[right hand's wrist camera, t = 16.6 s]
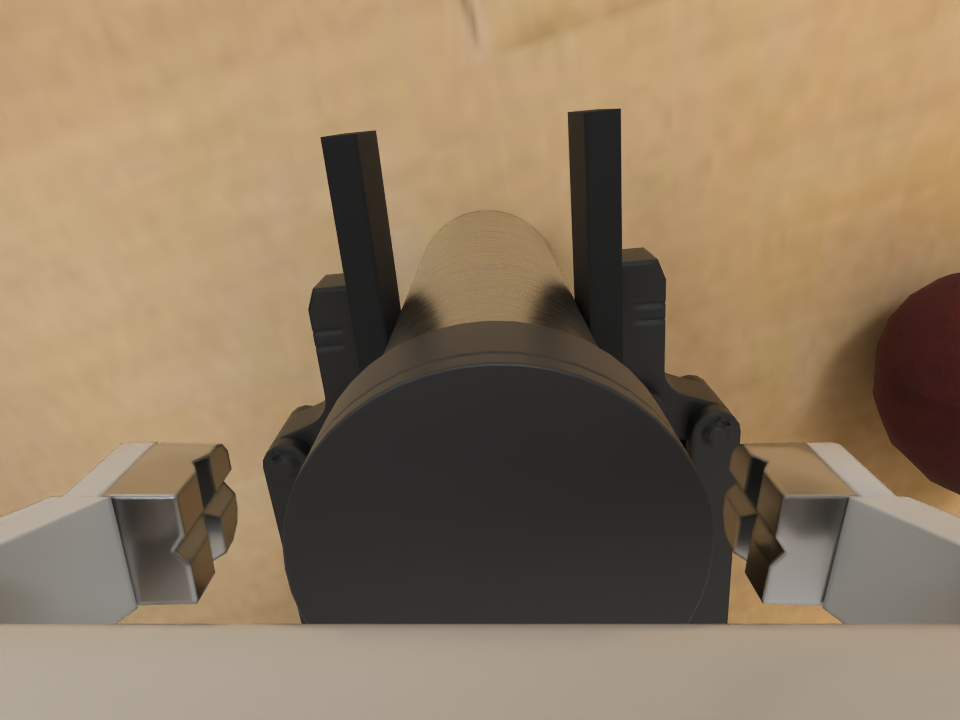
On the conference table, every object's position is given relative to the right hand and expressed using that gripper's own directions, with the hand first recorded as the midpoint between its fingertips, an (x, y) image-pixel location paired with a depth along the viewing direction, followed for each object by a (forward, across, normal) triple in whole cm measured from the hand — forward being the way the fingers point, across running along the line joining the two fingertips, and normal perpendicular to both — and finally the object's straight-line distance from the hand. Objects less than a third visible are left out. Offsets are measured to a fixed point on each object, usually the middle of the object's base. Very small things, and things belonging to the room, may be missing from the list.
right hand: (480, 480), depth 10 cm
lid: (-2, 0, 0) cm, 2 cm away
